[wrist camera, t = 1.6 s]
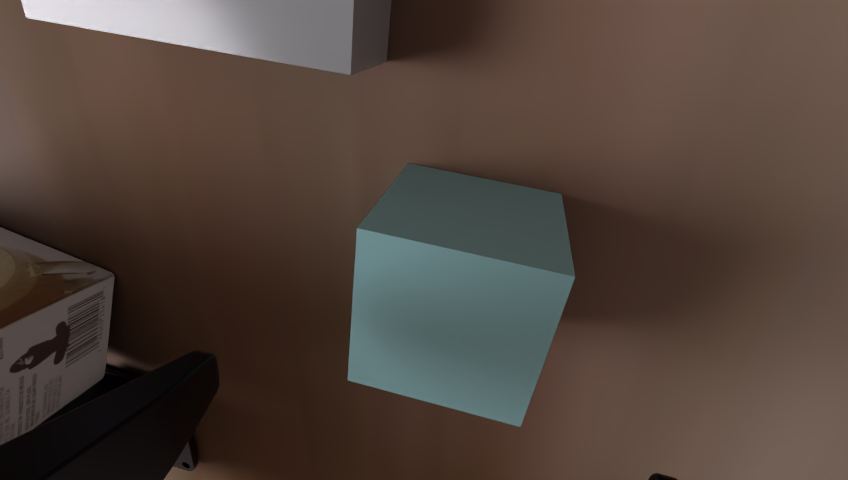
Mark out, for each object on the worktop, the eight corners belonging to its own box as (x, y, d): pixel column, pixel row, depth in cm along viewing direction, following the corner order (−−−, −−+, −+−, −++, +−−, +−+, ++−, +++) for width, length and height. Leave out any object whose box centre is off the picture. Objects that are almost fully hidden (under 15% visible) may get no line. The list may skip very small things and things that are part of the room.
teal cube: (523, 315, 16) (520, 427, 12) (394, 285, 17) (347, 380, 13) (561, 192, 14) (575, 277, 9) (409, 162, 14) (356, 227, 10)
